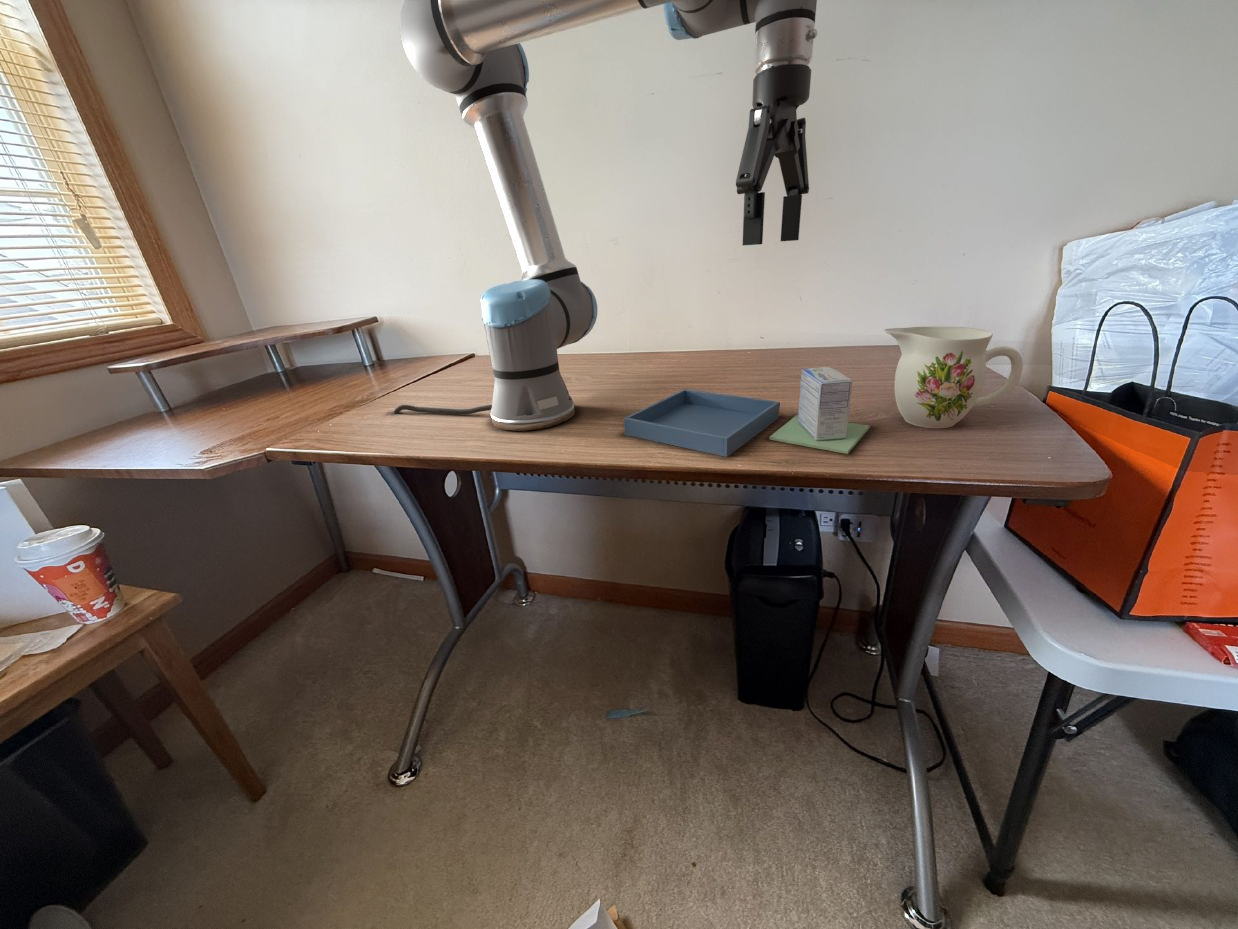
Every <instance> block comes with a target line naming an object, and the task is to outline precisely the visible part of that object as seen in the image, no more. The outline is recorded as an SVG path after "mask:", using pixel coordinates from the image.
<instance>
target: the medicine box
mask: <svg viewBox="0 0 1238 929" xmlns="http://www.w3.org/2000/svg"><path fill="white" fill-rule="evenodd" d="M799 384H800V386H799V400H798V409H797V410H798V412H797V415H798V423H799V424H800V425H801V426H802V427H803V428H804V429H805V430H806V431H807V432H808V433H809V434H810V435H811V436H812V437H813V438H814V439H815V440H834V439H844V438H846V435H847V425H848V422H849V417H850V406H851V397H852V391H853V390H852V389H853V379H852V378H850V377H849V376H847V375H845V374H843V373H841V372H840V371H838V370H836V369H834V368H833V367H831V366H822V367H821V366H819V367H810V368H805V369H801V374H800V383H799Z"/></svg>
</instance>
